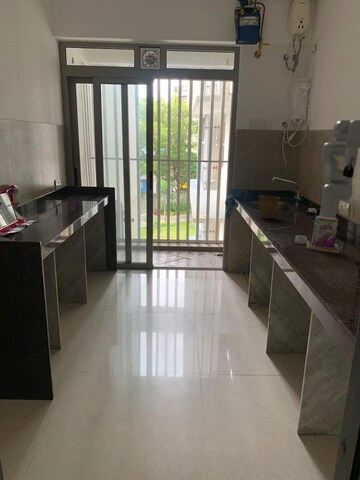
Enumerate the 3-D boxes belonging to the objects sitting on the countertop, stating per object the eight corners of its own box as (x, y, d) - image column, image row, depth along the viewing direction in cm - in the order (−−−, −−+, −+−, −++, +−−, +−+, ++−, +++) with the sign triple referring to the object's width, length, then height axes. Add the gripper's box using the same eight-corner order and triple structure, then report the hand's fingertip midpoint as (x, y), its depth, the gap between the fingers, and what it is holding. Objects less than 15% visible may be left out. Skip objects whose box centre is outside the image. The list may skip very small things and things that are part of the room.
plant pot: (277, 220, 261) (280, 198, 257) (257, 218, 263) (259, 197, 259) (275, 216, 275) (278, 196, 271) (256, 214, 277) (258, 194, 273)
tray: (305, 244, 200) (306, 240, 200) (335, 248, 197) (336, 244, 196) (307, 249, 191) (308, 245, 191) (338, 252, 188) (339, 248, 187)
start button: (297, 239, 206) (297, 235, 205) (303, 240, 205) (304, 236, 204) (297, 241, 202) (298, 236, 202) (304, 242, 202) (305, 237, 201)
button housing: (295, 240, 207) (295, 235, 206) (305, 241, 206) (305, 236, 205) (295, 243, 202) (296, 237, 201) (306, 244, 201) (306, 239, 200)
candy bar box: (311, 247, 193) (316, 217, 189) (310, 244, 198) (315, 215, 193) (333, 249, 190) (339, 219, 186) (332, 247, 195) (337, 218, 191)
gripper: (342, 144, 200) (337, 175, 204) (349, 143, 183) (343, 177, 188) (357, 145, 198) (351, 176, 203) (365, 144, 182) (358, 178, 186)
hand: (347, 176), depth 195 cm, fingers open, 9 cm apart
